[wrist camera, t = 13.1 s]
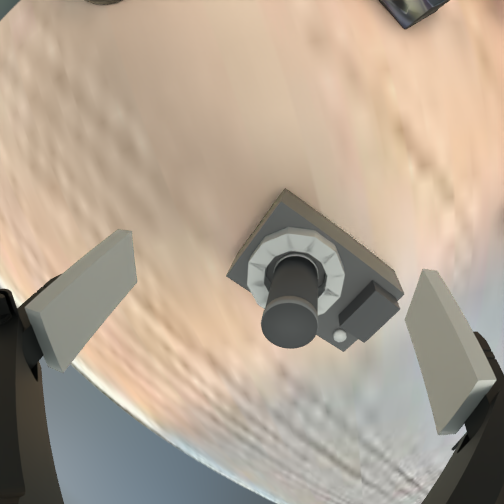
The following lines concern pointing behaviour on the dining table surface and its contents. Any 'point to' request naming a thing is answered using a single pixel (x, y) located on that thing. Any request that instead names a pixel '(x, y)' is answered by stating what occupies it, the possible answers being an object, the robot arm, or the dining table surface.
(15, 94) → the dining table surface
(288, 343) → the lens
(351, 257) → the camera body
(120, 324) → the dining table surface
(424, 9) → the small box
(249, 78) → the dining table surface
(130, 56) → the dining table surface
